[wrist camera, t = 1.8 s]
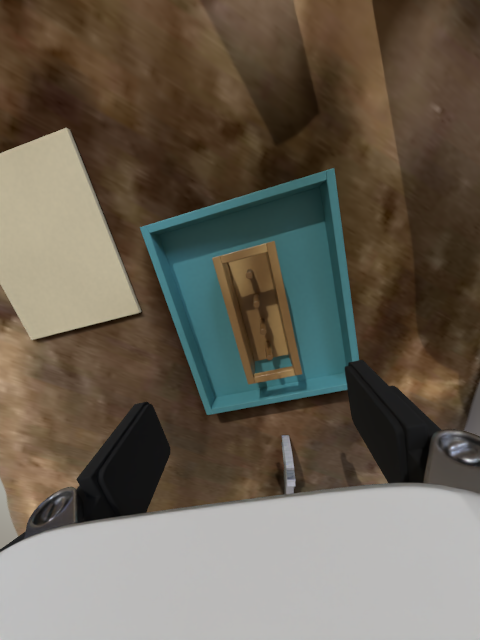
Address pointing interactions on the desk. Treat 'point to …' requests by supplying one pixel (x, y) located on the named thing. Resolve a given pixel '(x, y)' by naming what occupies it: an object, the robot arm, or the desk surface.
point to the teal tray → (299, 282)
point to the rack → (258, 309)
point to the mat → (57, 241)
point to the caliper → (288, 466)
